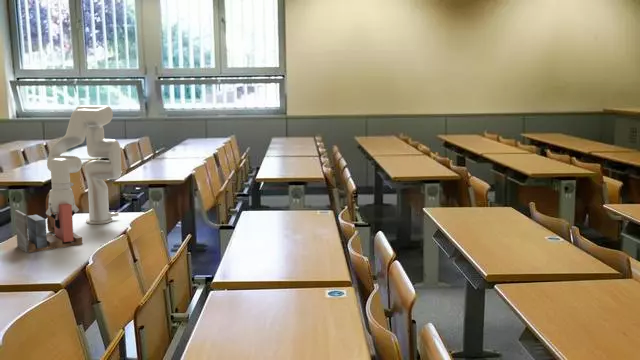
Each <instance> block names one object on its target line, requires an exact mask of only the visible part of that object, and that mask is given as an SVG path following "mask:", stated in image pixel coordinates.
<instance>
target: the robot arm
mask: <svg viewBox="0 0 640 360" xmlns="http://www.w3.org/2000/svg"><path fill="white" fill-rule="evenodd" d="M113 115H114V113H113V110H112V108H111V107H110V106H109V105H99V104H97V105H94V104H93V105H92V104H87V105H84V104H83V105H79V106H77V107H76V108H75V110H73V111H72V113H71V115H70V119H69V121H68V126H67V129H66V132H65V135H64V136H62V137H61V138H60V139H59V140H57V141H56V142H55V143H53V145H52V146H51V148H50V150H49V153H48V156H47V161H46V166H47V169H48V171H49V172H50V176H51V178H50V179H51V180H50V181H51V189H49V192H50V193H49V192H48V193H49V208H48V210H47V212H46V211H45V214H46V216H47V215H49V216H51V217H52V218H54V219H55V227H56V228H58V229H60V222H59V218H58V217H59V205H61V204H71V205H72V217H73V216H74V215H75V214H77V212H78V211H79V210H80V209H79V208H78V206H77V205H76V201H75V196H74V191H73V189H72V187H73V186H74V182H71V174H74V173H75V174H76V173H78V172H79V171H81V169H82V166H83V162H82V160H81V158H80V157H78V156H74V155H62V154H63V153H64V152H65V151H67V150H70V149H71V148H74V147H77V146H78V145H81V144H84V142H85V139H86V152H87V155H88V156H89V157H90V158H98V159H97V160H96V159H94V160H90V161H87V162H86V164H85V165H84V172H85V173H84V174H85V176H86V181H87V192H88V193H87V196H88V197H87V198H88V213H89V218H87V219H86V221H85V222H86V224H91V225H102V224H103V225H104V224H108V223H111V222H113V217H119V212H110V209H109V208H110V206H109V187H108V184H107V182H106V181H105V180H119V178H120V177H121V176H122V153H121V152H122V151H121V145H120V143H119V141H118V140H116V139H114V138H113V139H112V138H105V130H104V129H105V128H104V126H106V125H107V124H110V123H111V121H112V120H113ZM102 159H103V160H102ZM104 159H108V160H104ZM51 212H53V213H54V214H52V213H51Z"/></svg>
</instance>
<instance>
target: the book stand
mask: <svg viewBox="0 0 640 360" xmlns="http://www.w3.org/2000/svg"><path fill="white" fill-rule="evenodd" d="M14 216H15V230H16V244H17V246H16V247H18V248H19V249H20V250H22V251H23V252H24V253H26V254H27V253H35V252H36V253H37V252H43V251H48V250H53V249H54V250H55V249H61V248H67V247H72V246H80V245H83V237H82V236H80V235H78V234H76V233H75V232H73V240H74V241H69V242H63V241H62V240H60V239H59V238H57V237H55V234H54V235H53V233H51V234H47V219H46V218H44V217H42V216H40V215H38V214H33V215H32V214H31V215H30V214H29V215H27V214H25V213H24V212H22V211H20V210H19V209H15V210H14Z"/></svg>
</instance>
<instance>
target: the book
mask: <svg viewBox="0 0 640 360" xmlns="http://www.w3.org/2000/svg"><path fill="white" fill-rule="evenodd" d="M58 218H59V222H60V229H58V228H56V227H55V219H54V229H55V233H54V236H55V237H57V238H59V239H60V240H62V241H63V242H69V241H74V240H73V233H74V227H73V216H72V205H71V204H61V205H59V217H58Z"/></svg>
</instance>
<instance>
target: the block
mask: <svg viewBox="0 0 640 360" xmlns="http://www.w3.org/2000/svg"><path fill="white" fill-rule="evenodd" d="M49 193H50V191H49V192H48V193H47V195H46V198H45V213H46V212H47V210H48V208H49ZM51 213H52V214H54V213H53V212H51ZM46 217H47V219H46V228H47V231H48V233H49V232H50V233H52V234H53V233H54V234H55V229H54V218H52V217H51V216H49V215H47V214H46Z"/></svg>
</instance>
